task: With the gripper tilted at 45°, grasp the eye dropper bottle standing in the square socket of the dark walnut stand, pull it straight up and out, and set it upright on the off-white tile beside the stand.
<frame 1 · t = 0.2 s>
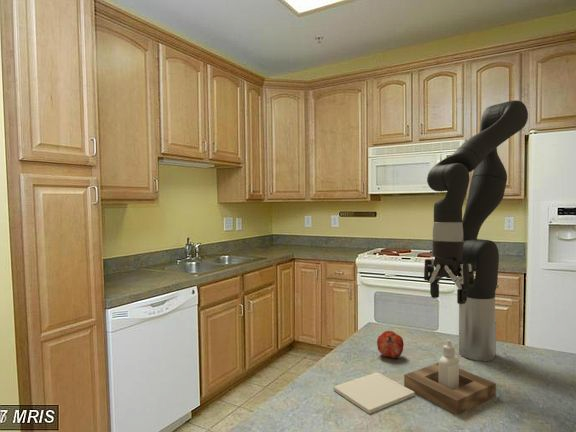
hand: (447, 300, 101), 18 cm above the countertop, tool pointing down, fingers open, 8 cm apart
pomegranate: (390, 356, 109), on the countertop
off-white tile: (373, 392, 88), on the countertop
walnut socket stand: (448, 391, 88), on the countertop
eye dropper bottle: (448, 392, 88), resting in walnut socket stand
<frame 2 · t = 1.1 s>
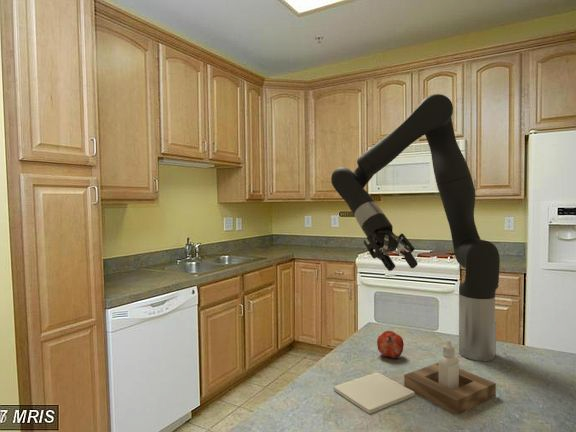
hand: (404, 267, 98), 27 cm above the countertop, tool tilted 45°, fingers open, 8 cm apart
nothing on the countertop moved.
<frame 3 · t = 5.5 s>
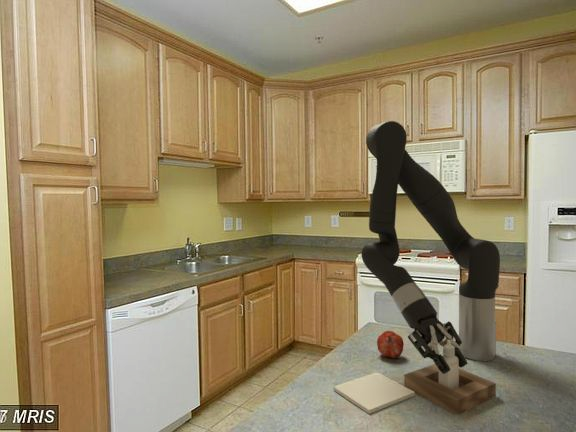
hand: (455, 368, 86), 6 cm above the countertop, tool tilted 45°, fingers closed on eye dropper bottle, 5 cm apart
eye dropper bottle: (448, 392, 88), resting in walnut socket stand, touching gripper
everything else where it was.
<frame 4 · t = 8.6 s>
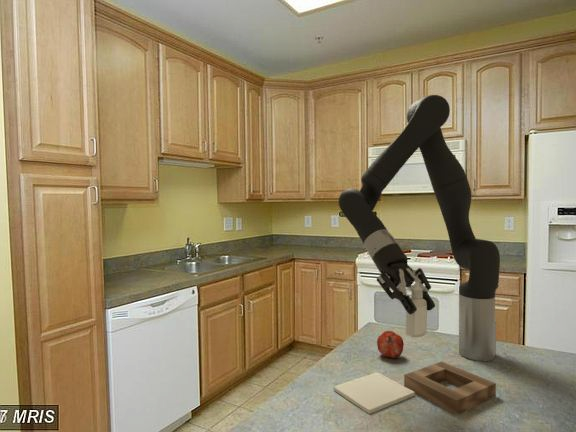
hand: (422, 310, 86), 20 cm above the countertop, tool tilted 45°, fingers closed on eye dropper bottle, 5 cm apart
eye dropper bottle: (416, 335, 87), point 13 cm above the countertop, touching gripper
everything else where it was.
when the fingers open (8 cm above the countertop, at t = 11.9 s): eye dropper bottle stays where it is, resting on off-white tile.
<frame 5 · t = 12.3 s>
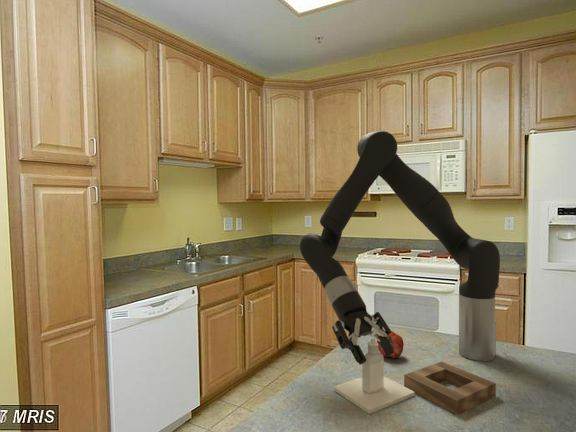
hand: (377, 358, 86), 8 cm above the countertop, tool tilted 45°, fingers open, 8 cm apart
eye dropper bottle: (373, 389, 88), point 1 cm above the countertop, touching off-white tile
everything else where it was.
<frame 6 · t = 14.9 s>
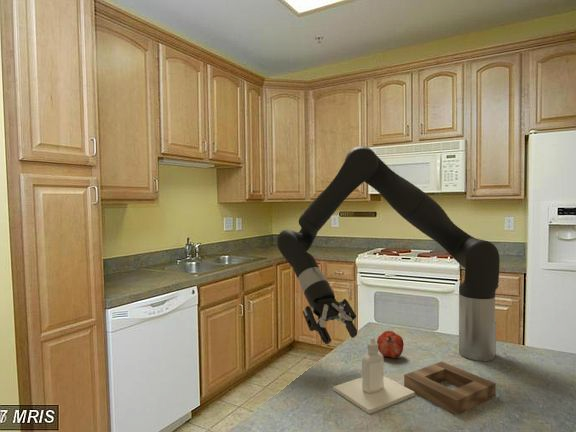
hand: (342, 339, 98), 9 cm above the countertop, tool tilted 45°, fingers open, 8 cm apart
nothing on the countertop moved.
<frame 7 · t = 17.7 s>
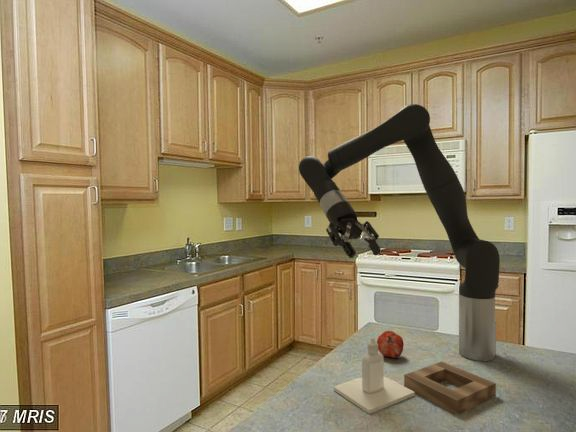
hand: (366, 254, 97), 31 cm above the countertop, tool tilted 45°, fingers open, 8 cm apart
nothing on the countertop moved.
at the end: eye dropper bottle inside the target area on the off-white tile (0.2 cm from its centre), point 0.6 cm above the off-white tile's base; eye dropper bottle tilted 0°; the gripper is holding nothing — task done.
